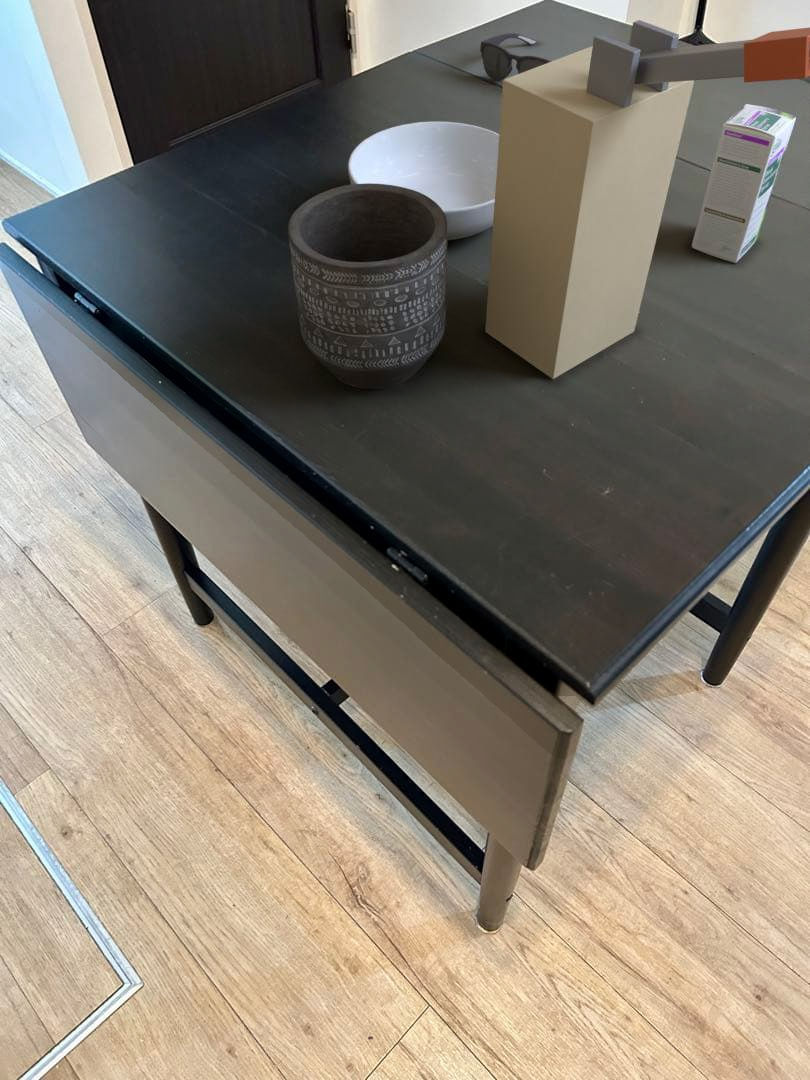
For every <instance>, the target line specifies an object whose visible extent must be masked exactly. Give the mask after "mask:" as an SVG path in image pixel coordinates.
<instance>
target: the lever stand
mask: <svg viewBox="0 0 810 1080" xmlns="http://www.w3.org/2000/svg"><path fill="white" fill-rule="evenodd" d="M679 38H680V34H679V33H675V32H673V31H671V30H667V29H665V28H662V27H659V26H658V25H654V24H651V23H648V22H646V21H643V20H641V19H638V20H636V21H633V22H632V26H631V32H630V38H629V43H628V44H627V43H624V42H622V41H619V40H616V39H614V38H611V37H609V36H606V35H604V34H598V35H595V36H594V37H593V41H592V45H591V46H589V47H586V48H583V49H581V50H577V51H576V52H573V53H570V54H567V55H565V56H562V57H560V58H557V59H555V60H551V61H552V62H549V63H546V64H544V65H541V66H538V67H536V68H533V69H531V70H528V71H525V72H523V73H520V74H518V73H517V74H515V75H512V76H510V77H506V78H505V79H503V80H502V92H501V107H500V120H499V133H498V134H499V147H498V161H497V175H496V189H495V203H494V217H493V226H492V233H491V244H490V245H491V247H490V259H489V263H490V264H489V273H488V274H489V275H488V276H489V277H488V287H487V301H486V302H487V303H486V316H485V317H486V318H485V330H484V332H485V333H486V334H488V335H489V336H491V337H492V338H493V339H495V340H496V341H498V342H499V343H501V344H502V345H503V346H504V347H506V348H507V349H509V350H510V351H512V352H513V353H515V354H516V355H517V356H519V357H521V358H522V359H523V360H525V361H526V362H528V363H529V364H530V365H532V366H534V367H535V368H536V369H537V370H539V371H540V372H542V373H543V374H545V375H546V376H547V377H549V378H550V379H552V380H554V379H556V378H558V377H559V376H561V375H563V374H564V373H567V372H568V371H570V370H571V369H573V368H575V367H576V366H578V365H580V364H582V363H584V362H585V361H587V360H589V359H590V358H592V357H594V356H595V355H598V354H599V353H601V352H602V351H604V350H605V349H607V348H609V347H610V346H612V345H614V344H615V343H617V342H619V341H621V340H622V339H624V338H625V337H627V336H629V335H631V334H633V333H634V332H635V331H636V330H635V329H636V326H637V321H638V317H639V313H640V309H641V305H642V300H643V297H644V292H645V288H646V284H647V279H648V275H649V272H650V267H651V263H652V258H653V255H654V251H655V246H656V243H657V238H658V233H659V230H660V226H661V222H662V217H663V213H664V208H665V204H666V201H667V196H668V192H669V188H670V184H671V179H672V176H673V171H674V168H675V163H676V158H677V154H678V150H679V146H680V142H681V138H682V134H683V130H684V126H685V121H686V117H687V113H688V109H689V106H690V105H689V104H690V100H691V97H692V91H693V88H694V83H695V80H693V81H679V82H665V83H651V84H638V85H634V83H635V78H636V73H637V67H638V62H639V57H640V55H642V54H644V53H647V52H649V51H653V50H662V49H671V48H678V43H679Z"/></svg>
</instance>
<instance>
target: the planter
mask: <svg viewBox="0 0 810 1080" xmlns="http://www.w3.org/2000/svg"><path fill="white" fill-rule="evenodd" d="M287 235H288V242H289V249H290V260H291V268H292V276H293V282H294V283H293V284H294V289H295V295H296V302H297V312H298V313H297V314H298V321H299V327H300V332H301V336H302V340H303V343H304V344H305V346H306V347H307V349H308V350H309V351H310V353H311V354H312V355H313V356H314V357H315V358H316V359H317V361H318V362H319V363H320V364H321V365H322V366H323V367H324V368H325V369H326V370H328V371H329V372H330V374H332V375H333V376H334V377H335V378H336V379H338V380H339V381H341V383H344V384H346V385H348V386H350V387H351V386H352V387H355V388H359V389H363V390H364V389H366V390H379V389H380V390H381V389H388V388H392V387H395V386H398V385H400V384H402V383H404V382H407V381H408V380H409V379H411V378H412V377H413V376H414V375H416V373H417V372H418V371H419V370H420V369H421V368H422V367H423V365H425V363H426V362H427V361H428V360H429V358H430V357H431V356H432V354H433V353H434V352H435V350H436V349H437V347H439V344H440V343H441V341H442V340H443V336H444V334H445V328H446V318H447V316H446V315H447V291H446V288H447V272H448V271H447V269H448V240H447V220H446V216H445V214H444V212H443V210H442V209H441V208H440V206H439V205H438V204H437V203H436V202H434V201H433V200H432V199H430V198H429V197H427V196H426V195H424V194H422V193H420V192H417V191H414V190H411V189H407V188H403V187H399V186H394V185H386V184H372V183H366V184H352V185H351V184H347V185H341V186H338V187H337V186H336V187H334V188H330V189H328V190H325V191H322V192H321V193H318V194H316V195H314V196H312V197H311V198H309V199H307V200H306V201H305V202H303V203H302V204H300V206H298V208H296V210H294V212H293V213H292V214H291V217H290V218H289V220H288V224H287Z"/></svg>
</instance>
